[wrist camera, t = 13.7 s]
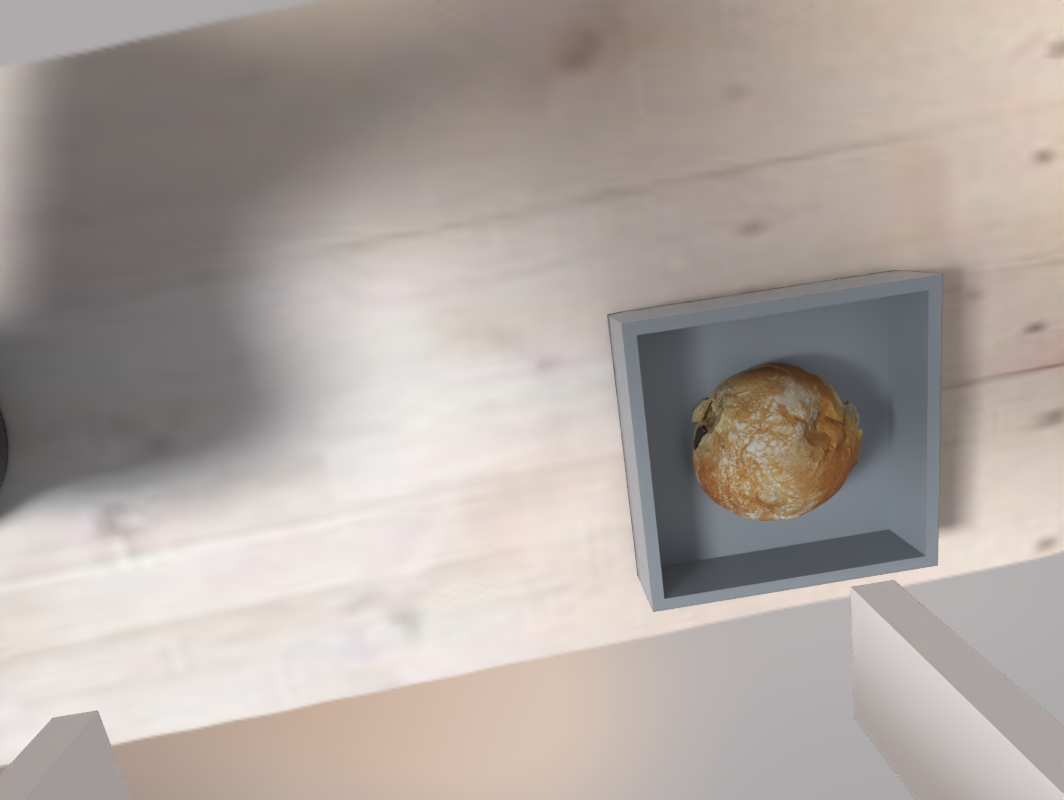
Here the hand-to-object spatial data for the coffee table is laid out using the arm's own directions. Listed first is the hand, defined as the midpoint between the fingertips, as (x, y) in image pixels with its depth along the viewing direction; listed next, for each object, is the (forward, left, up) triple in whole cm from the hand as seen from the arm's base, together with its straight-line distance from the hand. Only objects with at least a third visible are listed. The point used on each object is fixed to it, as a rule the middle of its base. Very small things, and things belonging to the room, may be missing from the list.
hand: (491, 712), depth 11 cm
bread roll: (+17, -7, -30) cm, 35 cm away
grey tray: (+17, -7, -31) cm, 36 cm away
